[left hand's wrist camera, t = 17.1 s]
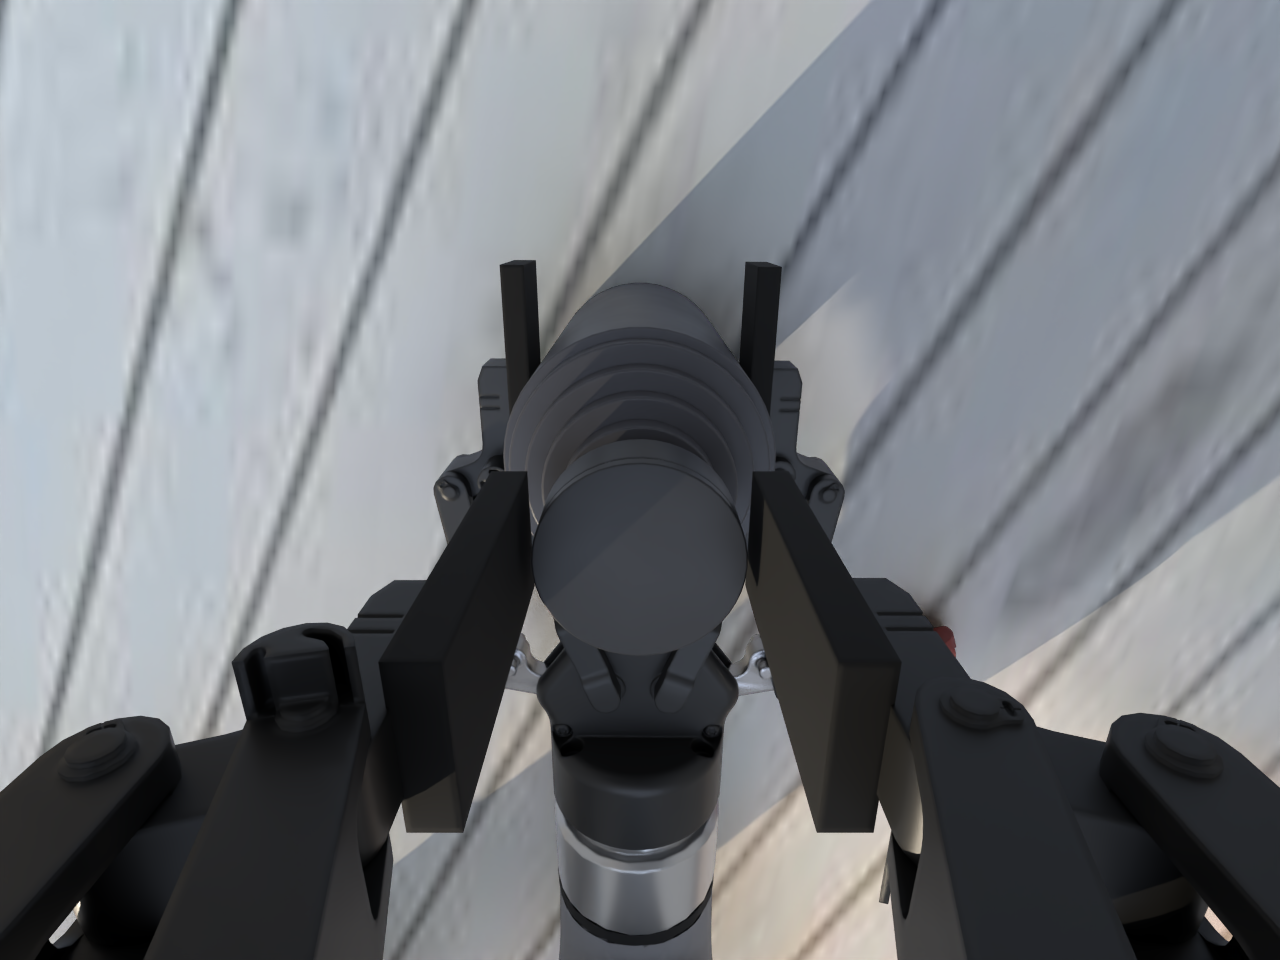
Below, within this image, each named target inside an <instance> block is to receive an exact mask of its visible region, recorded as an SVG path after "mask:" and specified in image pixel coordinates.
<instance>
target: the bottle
mask: <svg viewBox="0 0 1280 960" xmlns="http://www.w3.org/2000/svg"><path fill="white" fill-rule="evenodd" d="M630 439H647V440H657V441H662V442H666V443H670V444H673V445H676V446H679V447H681V448H683V449H685V450H687V451H689V452H691V453H693V454H695V455H696V456H698V457H699V458H701V459H702V460H703V461H705V462H706V463H707V464H708V465H709V466H710V467H711V468H713V469H714V471H715V472H716V473H717V474H718V475H719V476H720V478H721V479H722V480H723V482H724V484H725V485H726V487H727V488H728V490H729V492H730V495H731V497H732V499H733V502H734V505H735V508H736V511H737V514H738V517H739V520H740V523H741V526H742V529H743V532H744V536H745V537H746V535H747V534H748V532H749V521H750V505H751V489H752V474H753V471H775V460H776V450H775V438H774V433H773V428H772V423H771V420H770V417H769V414H768V412H767V409H766V406H765V404H764V402H763V400H762V398H761V396H760V395H759V393H758V391H757V389H756V388H755V386H754V385H753V383H752V382H751V380H750V379H749V378H748V376H747V375H746V373H745V372H744V370H743V369H742V367H741V366H740V365H739V363H738V362H737V360H736V359H735V357H734V356H733V354H732V353H731V352H730V350H729V349H728V347H727V346H726V344H725V343H724V341H723V340H722V339H721V337H720V336H719V334H718V333H717V331H716V330H715V328H714V327H713V325H712V324H711V323H710V321H709V320H708V318H707V317H706V316H705V314H704V313H703V312H702V311H701V310H700V309H699V308H698V307H697V305H696V304H694V303H693V302H692V301H691V300H689V299H688V298H687V297H685V296H683V295H682V294H680V293H678V292H676V291H674V290H672V289H669V288H667V287H664V286H660V285H656V284H649V283H631V284H624V285H620V286H616V287H612V288H610V289H608V290H605V291H603V292H601V293H599V294H598V295H596V296H594V297H593V298H591V299H590V300H589V301H588V302H586V303H585V304H584V305H583V306H582V307H581V308H580V309H579V310H578V311H577V312H576V314H575V315H574V316H573V318H572V319H571V321H570V322H569V323H568V325H567V326H566V328H565V329H564V331H563V332H562V333H561V335H560V336H559V338H558V339H557V341H556V342H555V344H554V345H553V346H552V348H551V349H550V351H549V352H548V354H547V355H546V356H545V358H544V359H543V361H542V362H541V364H540V365H539V367H538V368H537V369H536V371H535V372H534V374H533V375H532V377H531V378H530V379H529V381H528V382H527V384H526V385H525V387H524V388H523V390H522V391H521V393H520V395H519V397H518V399H517V401H516V403H515V405H514V407H513V409H512V412H511V415H510V418H509V421H508V424H507V429H506V434H505V439H504V455H503V457H504V469H505V471H527V474H528V489H529V505H530V521H531V533H532V535H533V536H534V535H535V532H536V529H537V526H538V523H539V520H540V517H541V514H542V511H543V508H544V505H545V502H546V500H547V497H548V494H549V493H550V491H551V489H552V487H553V485H554V483H555V482H556V481H557V479H558V478H559V476H560V475H561V474H562V473H563V472H564V471H565V470H566V469H567V468H568V467H569V466H570V465H571V464H572V463H573V462H575V461H576V460H577V459H578V458H580V457H581V456H583V455H585V454H586V453H588V452H589V451H591V450H594V449H596V448H598V447H600V446H603V445H606V444H609V443H613V442H617V441H623V440H630Z"/></svg>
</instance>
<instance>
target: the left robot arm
mask: <svg viewBox="0 0 1280 960" xmlns="http://www.w3.org/2000/svg"><path fill="white" fill-rule="evenodd" d="M531 553H532V536H531V521H530V505H529V489H528V474H527V471H491V473H490V474H489V476H488V478H487V479H486V481H485V483H484V484H483V486H482V488H481V489H480V491H479V493H478V494H477V496H476V498H475V500H474V501H473V503H472V505H471V506H470V508H469V510H468V511H467V513H466V515H465V516H464V518H463V520H462V521H461V523H460V525H459V527H458V528H457V530H456V532H455V533H454V535H453V537H452V538H451V540H450V542H449V543H448V545H447V547H446V548H445V550H444V552H443V554H442V555H441V557H440V559H439V560H438V562H437V564H436V565H435V567H434V569H433V570H432V572H431V574H430V575H429V577H428V579H427V580H394V581H393V582H391V583H390V584H388V585H387V586H385V587H384V588H382V589H381V590H379V591H378V592H376V593H375V594H373V595H372V596H371V597H370V598H369V600H368V601H367V602H366V604H365V605H364V607H363V608H362V609H361V611H360V612H359V613H358V618H355V619H354V620H353V622H352V623H351V625H350V626H349V627H348V629H346V628H345V627H343V626H339V625H335V624H331V623H305V624H300V625H296V626H291V627H286V628H283V629H280V630H278V631H275V632H273V633H270V634H268V635H265V636H263V637H261V638H259V639H257V640H256V641H254V642H253V643H251V644H250V645H248V646H247V647H245V648H244V649H242V651H241V652H240V653H239V654H238V655H237V657H236V658H235V659H234V660H233V661H232V666H233V669H234V673H235V677H236V681H237V685H238V689H239V693H240V696H241V700H242V704H243V708H244V712H245V716H246V719H247V721H246V723H245V726H244V728H243V730H240V731H236V732H232V733H229V734H225V735H220V736H216V737H211V738H206V739H202V740H197V741H192V742H188V743H183V744H178V745H175V744H174V741H173V737H172V734H171V731H170V728H169V726H167V725H166V724H165V723H164V722H163V721H161V720H160V719H158V718H152V717H145V716H135V717H127V718H118V719H114V720H110V721H106V722H104V723H99V724H96V725H94V726H91V727H88V728H86V729H85V730H83V731H81V732H79V733H77V734H75V735H73V736H71V737H68V738H66V739H64V740H63V741H61V742H60V743H58V744H57V745H56V746H54V747H53V748H51V749H50V750H49V751H47V752H46V753H44V754H43V755H42V756H40V757H39V758H38V759H37V760H36V761H35V762H34V763H32V764H31V765H30V766H29V767H28V768H27V769H26V770H25V771H24V772H22V773H21V774H20V775H19V776H18V777H17V778H16V779H15V780H13V781H12V782H11V783H10V784H9V785H8V786H7V787H6V788H5V789H3V790H2V791H1V792H0V960H383V951H384V941H385V932H386V923H387V914H388V905H389V895H390V886H391V877H392V868H393V854H392V847H391V841H390V836H389V831H390V829H391V826H392V824H393V821H394V819H395V816H396V814H397V811H398V809H399V807H400V804H401V803H402V809H403V815H404V821H405V827H406V833H463V831H464V828H465V824H466V821H467V817H468V814H469V810H470V807H471V804H472V800H473V797H474V793H475V790H476V786H477V783H478V779H479V776H480V772H481V769H482V765H483V762H484V759H485V755H486V752H487V748H488V745H489V741H490V738H491V734H492V731H493V727H494V724H495V720H496V717H497V714H498V710H499V707H500V703H501V700H502V696H503V693H504V689H505V686H506V682H507V679H508V675H509V672H510V669H511V665H512V662H513V658H514V655H515V651H516V648H517V644H518V641H519V637H520V634H521V630H522V627H523V624H524V620H525V617H526V613H527V610H528V606H529V603H530V599H531V596H532V592H533V589H534V586H535V583H534V578H533V574H532V565H531ZM745 586H746V589H747V592H748V596H749V599H750V603H751V606H752V610H753V613H754V617H755V620H756V624H757V627H758V631H759V634H760V637H761V641H762V644H763V648H764V651H765V655H766V658H767V662H768V665H769V669H770V672H771V676H772V679H773V682H774V686H775V689H776V693H777V696H778V700H779V703H780V707H781V710H782V714H783V717H784V720H785V724H786V727H787V731H788V734H789V738H790V741H791V745H792V748H793V752H794V755H795V759H796V762H797V765H798V769H799V772H800V776H801V779H802V783H803V786H804V790H805V793H806V797H807V800H808V804H809V807H810V810H811V814H812V817H813V821H814V824H815V828H816V831H817V833H874V827H875V820H876V814H877V808H878V802H879V801H880V803H881V806H882V808H883V811H884V813H885V815H886V818H887V820H888V823H889V825H890V827H891V836H890V841H889V847H888V852H887V858H886V863H885V869H884V875H883V880H882V886H881V892H880V899H879V902H881V903H885V904H888V902H889V897H890V894H891V903H892V912H893V921H894V931H895V940H896V949H897V958H898V960H1280V788H1279V787H1278V786H1277V785H1276V784H1275V783H1274V782H1273V781H1272V780H1270V779H1269V778H1268V777H1267V776H1266V775H1265V774H1264V773H1263V772H1261V771H1260V770H1259V769H1258V768H1257V767H1256V766H1255V765H1254V764H1252V763H1251V762H1250V761H1249V760H1248V759H1247V758H1246V757H1244V756H1243V755H1242V754H1241V753H1240V752H1238V751H1237V750H1236V749H1234V748H1233V747H1231V746H1230V745H1229V744H1227V743H1226V742H1224V741H1223V740H1222V739H1220V738H1219V737H1217V736H1215V735H1213V734H1211V733H1209V732H1207V731H1205V730H1203V729H1200V728H1198V727H1197V726H1195V725H1193V724H1190V723H1188V722H1185V721H1182V720H1177V719H1175V718H1171V717H1167V716H1162V715H1154V714H1146V713H1136V714H1130V715H1123V716H1121V717H1120V718H1118V719H1117V720H1116V721H1115V722H1114V723H1112V725H1111V728H1110V731H1109V734H1108V737H1107V741H1106V742H1102V741H1097V740H1092V739H1088V738H1083V737H1078V736H1073V735H1069V734H1064V733H1059V732H1055V731H1051V730H1047V729H1044V728H1040V727H1037V726H1036V725H1035V722H1034V720H1033V718H1032V717H1031V716H1030V714H1029V713H1028V712H1027V710H1026V709H1025V707H1024V706H1023V705H1022V704H1021V703H1019V702H1018V701H1017V700H1015V699H1014V698H1013V697H1011V696H1010V695H1009V694H1007V693H1006V692H1004V691H1002V690H1000V689H997V688H995V687H993V686H991V685H989V684H987V683H984V682H980V681H976V680H972V679H970V677H969V676H968V674H967V673H966V672H965V670H964V669H963V668H962V666H961V665H960V663H959V662H958V661H957V659H956V658H955V656H954V655H953V654H952V652H951V651H950V649H949V648H948V647H947V645H946V644H945V643H944V641H943V640H942V638H941V637H940V636H939V634H938V633H937V631H934V629H933V626H932V625H931V623H930V622H929V620H928V619H927V618H926V616H923V614H922V613H923V612H922V611H921V609H920V608H919V607H918V605H917V604H916V602H915V601H914V600H913V598H912V597H911V595H910V594H909V593H907V592H906V591H904V590H903V589H901V588H900V587H898V586H897V585H895V584H894V583H892V582H891V581H889V580H888V579H886V578H852V577H851V575H850V574H849V572H848V570H847V569H846V567H845V565H844V564H843V562H842V560H841V559H840V557H839V555H838V554H837V552H836V550H835V548H834V547H833V545H832V543H831V542H830V540H829V538H828V537H827V535H826V533H825V532H824V530H823V528H822V527H821V525H820V523H819V521H818V520H817V518H816V516H815V515H814V513H813V511H812V510H811V508H810V506H809V505H808V503H807V501H806V500H805V498H804V496H803V494H802V493H801V491H800V489H799V488H798V486H797V484H796V483H795V481H794V479H793V478H792V476H791V474H790V473H789V471H753V474H752V489H751V505H750V521H749V536H748V567H747V573H746V583H745ZM1208 906H1209V907H1210V909H1211V910H1212V911H1213V912H1214V914H1215V915H1216V916H1217V917H1218V918H1219V920H1220V921H1221V922H1222V923H1223V924H1224V926H1225V927H1226V928H1227V929H1228V930H1229V932H1230V933H1231V934H1232V935H1233V937H1232V939H1231V940H1230V941H1229V942H1228V941H1227V940H1225V939H1224V938H1223V937H1222V936H1221V935H1220V934H1219V933H1218V932H1217V931H1216V930H1215V929H1214V927H1213V926H1212V925H1211V924H1210V922H1209V921H1208V920H1207V919H1206V918H1205V913H1206V911H1207V909H1208ZM72 910H73V911H74V913H75V916H76V918H77V919H76V920H75V922H74V923H73V924H72V925H71V926H70V928H69V929H68V930H67V931H66V933H65V934H64V935H62V936H61V937H60V938H59V939H58V940H57V941H56V942H55V943H54V944H52V943H50V941H49V938H50V937H51V936H52V934H53V933H54V932H55V931H56V930H57V928H58V927H59V926H60V925H61V923H62V922H63V921H64V920H65V919H66V917H67V916H68V915H69V914H70V912H71V911H72Z"/></svg>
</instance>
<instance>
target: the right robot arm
mask: <svg viewBox="0 0 1280 960" xmlns="http://www.w3.org/2000/svg"><path fill="white" fill-rule="evenodd" d="M781 270H782V267H780V266H777V265H774V264H771V263H768V262H746V264H745V280H744V297H743V313H742V330H741V346H740V362H739V365H740V366H741V367H742V369H743V370H744V372H745V373H746V375H747V376H748V378H749V379H750V380H751V382H752V383H753V385H754V386H755V388H756V389H757V391H758V393H759V395H760V396H761V398H762V400H763V402H764V404H765V406H766V409H767V412H768V414H769V417H770V420H771V423H772V428H773V433H774V438H775V450H776V460H775V471H789V473H790V474H791V476H792V478H793V479H794V481H795V483H796V484H797V486H798V488H799V489H800V491H801V493H802V494H803V496H804V498H805V500H806V501H807V503H808V505H809V506H810V508H811V510H812V511H813V513H814V515H815V516H816V518H817V520H818V521H819V523H820V525H821V527H822V528H823V530H824V532H825V533H826V535H827V537H828V538H829V540H830V542H832V538H833V535H834V531H835V528H836V524H837V521H838V517H839V513H840V510H841V506H842V503H843V499H844V493H845V491H844V488H843V485H842V484H841V483H840V481H839V480H838V479H837V477H836V476H835V475H834V474H833V472H832V471H831V470H830V468H829V467H828V466H827V464H826V463H825V462H824V461H823V460H822V459H820V458H817V457H810V458H809V457H806V456H804V455H801V454H799V453H797V452H796V443H797V433H798V422H799V410H800V399H801V391H802V381H801V378H800V374H799V371H798V369H797V368H796V367H795V366H794V365H793V364H792V363H791V362H790V361H774V358H775V345H776V333H777V320H778V308H779V295H780V282H781ZM500 276H501V292H502V307H503V323H504V338H505V354H506V359H490V360H489V361H488V362H486V363H485V364H484V365H483V366H482V369H481V372H480V375H479V378H478V391H479V403H480V416H481V428H482V441H483V450H481V451H479V452H476V453H473V454H470V455H464V454H462V455H459V456H457V457H456V458H455V459H454V460H453V461H452V462H451V463H450V465H449V466H448V467H447V469H446V470H445V471H444V472H443V474H442V475H441V476H440V478H439V479H438V480H437V481H436V483H435V486H434V496H435V499H436V503H437V507H438V511H439V514H440V518H441V522H442V526H443V529H444V533H445V537H446V541H447V544H448V543H449V542H450V540H451V538H452V537H453V535H454V533H455V532H456V530H457V528H458V527H459V525H460V523H461V521H462V520H463V518H464V516H465V515H466V513H467V511H468V510H469V508H470V506H471V505H472V503H473V501H474V500H475V498H476V496H477V494H478V493H479V491H480V489H481V488H482V486H483V484H484V483H485V481H486V479H487V478H488V476H489V474H490V473H491V471H505V469H504V457H503V455H504V439H505V434H506V429H507V424H508V421H509V418H510V415H511V412H512V409H513V407H514V405H515V403H516V401H517V399H518V397H519V395H520V393H521V391H522V390H523V388H524V387H525V385H526V384H527V382H528V381H529V379H530V378H531V377H532V375H533V374H534V372H535V371H536V369H537V368H538V367H539V365H540V364H541V363H540V342H539V320H538V298H537V277H536V260H514V261H510V262H507V263H504V264H501V265H500ZM531 536H532V545H533V539H534V536H533V535H532V533H531ZM748 536H749V532H748V534H747V535H746V537H745V539H746V544H747V552H748ZM554 622H555V629H556V632H557V635H558V637H559V639H560V643H559V644H558V645H557V646H556V648H555V649H554V650H553V651H552V652H551V654H550V655H549V656H548V657H547V659H546V660H545V661H544V662H541V661H538V660H537V659H535V658H534V657H533V656H532V654H531V652H530V645H529V643H528V641H527V640H526V638H525V635H524V634H523V633H521V634H520V637H519V641H518V644H517V648H516V651H515V655H514V658H513V662H512V665H511V669H510V672H509V675H508V679H507V682H506V686H505V688H506V689H511V690H517V691H523V692H528V693H534V694H537V698H538V700H539V702H540V704H541V706H542V707H543V708H544V709H545V711H546V712H547V714H548V716H549V719H550V724H551V740H552V760H553V780H554V794H555V798H556V800H555V821H556V836H557V851H558V872H559V882H560V910H561V938H560V954H559V960H712V948H711V911H712V886H713V876H714V868H715V860H716V845H717V830H718V814H719V807H718V797H719V792H720V779H721V764H722V749H723V733H724V723H725V719H726V717H727V715H728V713H729V712H730V710H731V709H732V708H733V707H734V705H735V704H736V702H737V699H738V696H740V695H746V694H752V693H759V692H765V691H771V690H774V692H775V695H776V697H777V698H778V696H777V693H776V689H775V686H774V682H773V679H772V676H771V672H770V669H769V665H768V662H767V658H766V655H765V651H764V648H763V644H762V641H761V637H760V634H756V635H753V636H752V637H751V639H750V642H749V643H748V645H747V647H746V652H745V655H744V657H743V658H742V659H741V660H740V661H739V662H737V663H733V664H732V663H731V662H730V660H729V659H728V658H727V656H726V655H725V654H724V653H723V651H722V650H721V649H720V648H719V646H718V645H717V644H716V643H715V642H716V640H717V638H718V636H719V634H720V630H721V625H722V622H721V623H720V624H719V625H718V626H717V627H716V628H714V629H713V630H712V631H711V632H710V633H708V634H707V635H705V636H704V637H702V638H701V639H699V640H698V641H696V642H694V643H692V644H690V645H688V646H685V647H683V648H680V649H677V650H674V651H670V652H666V653H662V654H655V655H640V656H635V655H623V654H618V653H613V652H608V651H605V650H602V649H599V648H596V647H594V646H592V645H589V644H587V643H585V642H583V641H582V640H580V639H578V638H577V637H575V636H573V635H572V634H571V633H570V632H568V631H567V630H566V629H564V628H563V627H562V626H561V625H560V624H559V623H558V622H557V621H556V620H555V619H554Z"/></svg>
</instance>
